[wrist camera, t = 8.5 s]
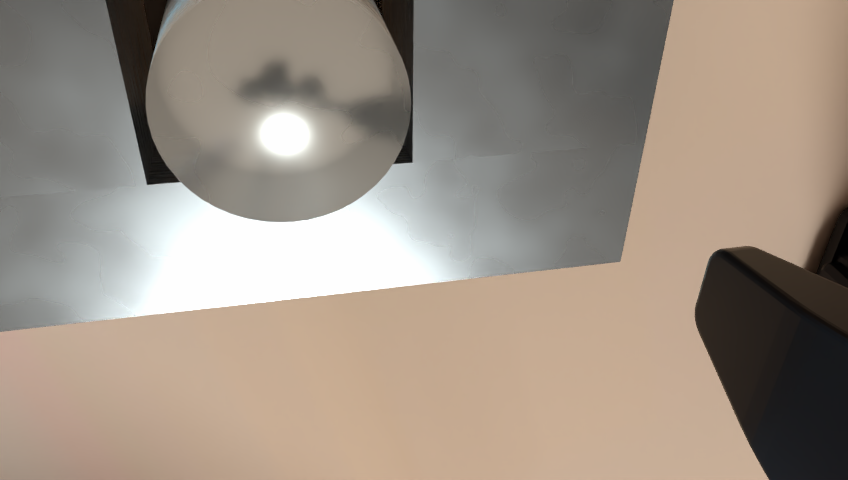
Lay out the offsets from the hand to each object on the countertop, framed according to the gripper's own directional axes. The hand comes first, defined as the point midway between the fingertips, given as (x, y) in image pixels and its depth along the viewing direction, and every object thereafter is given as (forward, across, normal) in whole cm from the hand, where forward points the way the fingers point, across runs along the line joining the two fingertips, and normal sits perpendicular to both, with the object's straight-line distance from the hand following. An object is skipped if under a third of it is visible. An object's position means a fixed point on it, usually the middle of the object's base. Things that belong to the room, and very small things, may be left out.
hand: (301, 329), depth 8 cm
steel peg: (+12, 0, 0) cm, 12 cm away
